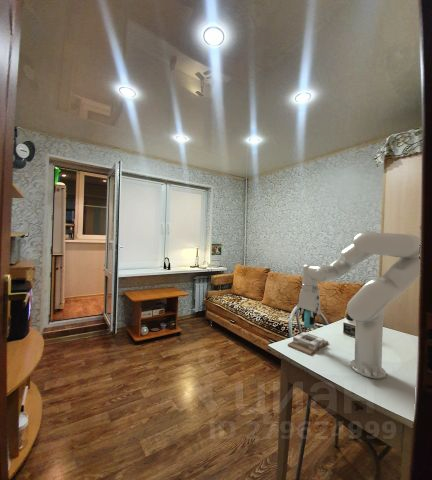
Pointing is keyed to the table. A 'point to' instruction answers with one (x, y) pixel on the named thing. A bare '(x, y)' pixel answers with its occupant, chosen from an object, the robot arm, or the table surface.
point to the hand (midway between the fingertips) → (308, 322)
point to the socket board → (304, 349)
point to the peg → (307, 319)
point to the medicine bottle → (349, 326)
